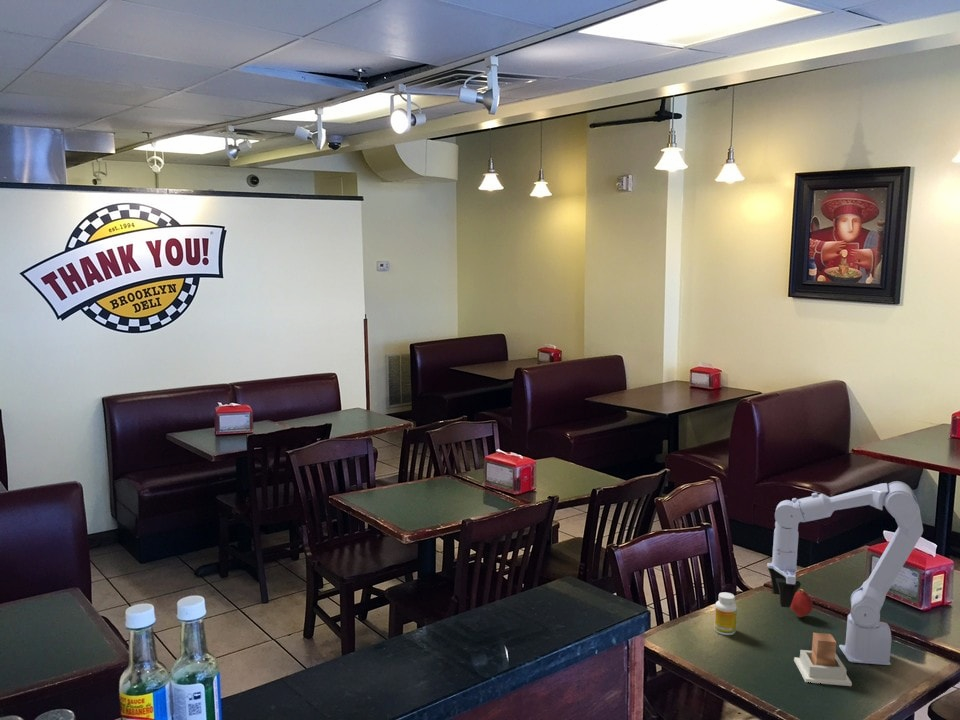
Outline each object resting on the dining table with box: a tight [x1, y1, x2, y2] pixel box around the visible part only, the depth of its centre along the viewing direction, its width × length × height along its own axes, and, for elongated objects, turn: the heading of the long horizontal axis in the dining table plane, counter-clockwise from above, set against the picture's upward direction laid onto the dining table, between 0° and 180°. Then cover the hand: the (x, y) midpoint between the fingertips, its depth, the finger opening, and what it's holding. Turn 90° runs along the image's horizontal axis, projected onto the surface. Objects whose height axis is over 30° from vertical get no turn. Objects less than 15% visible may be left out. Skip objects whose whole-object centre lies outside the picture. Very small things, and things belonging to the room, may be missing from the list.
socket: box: [793, 649, 853, 687], centre depth 181 cm, size 10×10×3 cm
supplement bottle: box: [713, 591, 738, 636], centre depth 201 cm, size 5×5×10 cm
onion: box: [789, 588, 814, 618], centre depth 210 cm, size 6×6×8 cm
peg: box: [811, 632, 837, 667], centre depth 180 cm, size 4×4×8 cm
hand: (781, 600), depth 196 cm, fingers open, 7 cm apart
